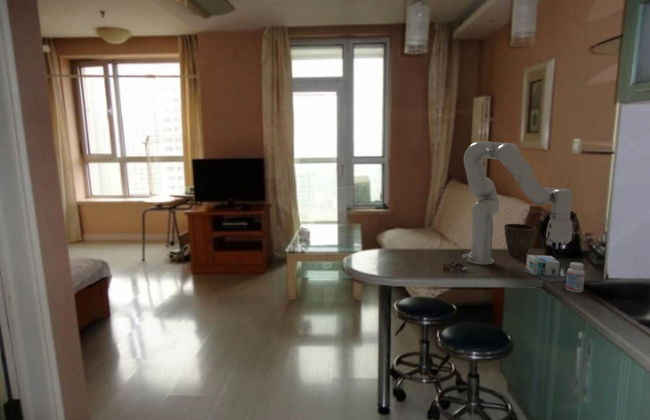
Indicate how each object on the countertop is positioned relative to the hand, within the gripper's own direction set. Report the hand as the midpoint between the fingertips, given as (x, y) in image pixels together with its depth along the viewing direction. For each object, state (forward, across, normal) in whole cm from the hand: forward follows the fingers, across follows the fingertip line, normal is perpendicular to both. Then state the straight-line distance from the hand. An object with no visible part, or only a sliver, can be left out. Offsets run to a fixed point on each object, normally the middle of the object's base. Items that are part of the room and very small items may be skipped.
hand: (556, 256), depth 186 cm
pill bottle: (+8, -8, -19) cm, 22 cm away
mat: (+8, -5, 0) cm, 10 cm away
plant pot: (+9, +4, +30) cm, 32 cm away
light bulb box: (+5, +1, +1) cm, 5 cm away
